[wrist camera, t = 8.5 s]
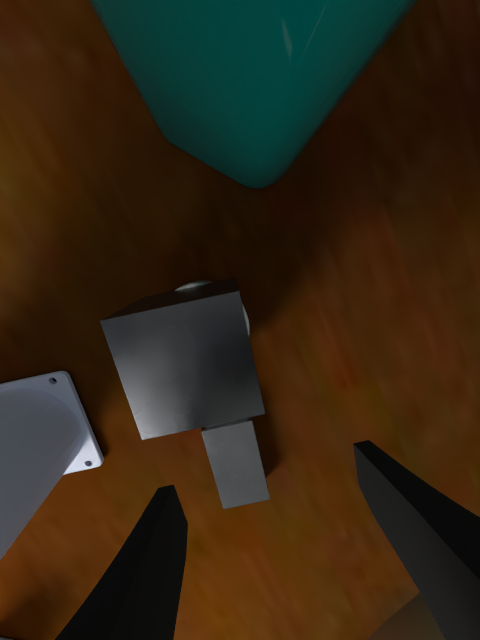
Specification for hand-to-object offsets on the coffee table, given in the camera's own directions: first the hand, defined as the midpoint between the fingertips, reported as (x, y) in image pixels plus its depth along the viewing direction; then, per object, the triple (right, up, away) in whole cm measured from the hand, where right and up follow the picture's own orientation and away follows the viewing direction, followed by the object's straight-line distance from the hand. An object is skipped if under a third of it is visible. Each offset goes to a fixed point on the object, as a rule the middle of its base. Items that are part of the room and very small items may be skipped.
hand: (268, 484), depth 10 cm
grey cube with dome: (-4, +6, +6) cm, 9 cm away
